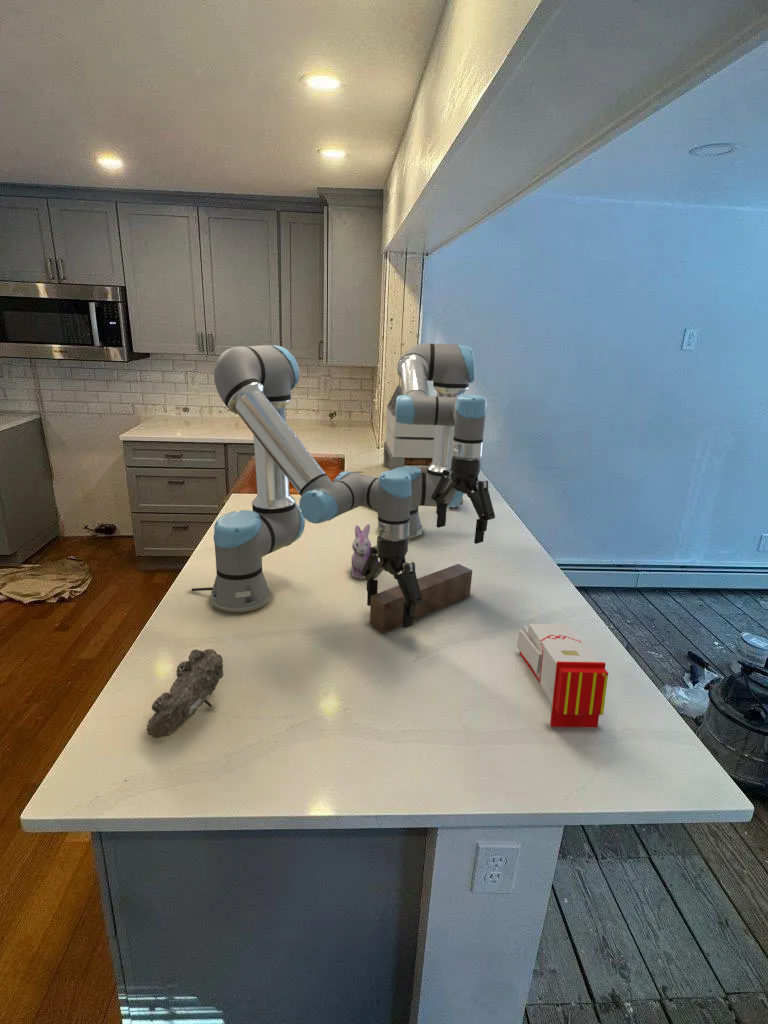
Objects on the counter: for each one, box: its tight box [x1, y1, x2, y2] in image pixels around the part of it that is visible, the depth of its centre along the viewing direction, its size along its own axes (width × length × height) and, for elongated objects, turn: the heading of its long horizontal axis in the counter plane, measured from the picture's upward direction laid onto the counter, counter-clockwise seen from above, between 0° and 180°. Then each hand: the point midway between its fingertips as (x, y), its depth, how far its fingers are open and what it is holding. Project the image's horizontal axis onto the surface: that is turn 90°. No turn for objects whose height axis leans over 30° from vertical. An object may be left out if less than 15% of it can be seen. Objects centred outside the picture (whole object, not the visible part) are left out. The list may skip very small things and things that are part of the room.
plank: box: [369, 563, 473, 634], centre depth 149 cm, size 32×5×8 cm, turn 131°
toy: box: [516, 623, 609, 728], centre depth 121 cm, size 12×13×30 cm
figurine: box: [350, 523, 380, 580], centre depth 167 cm, size 9×10×15 cm
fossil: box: [146, 648, 224, 739], centre depth 109 cm, size 22×10×15 cm
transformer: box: [383, 384, 435, 471], centre depth 268 cm, size 34×33×41 cm
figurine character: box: [449, 496, 464, 510], centre depth 231 cm, size 7×8×15 cm
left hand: (389, 614), depth 142 cm, fingers open, 13 cm apart
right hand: (459, 534), depth 152 cm, fingers open, 13 cm apart
